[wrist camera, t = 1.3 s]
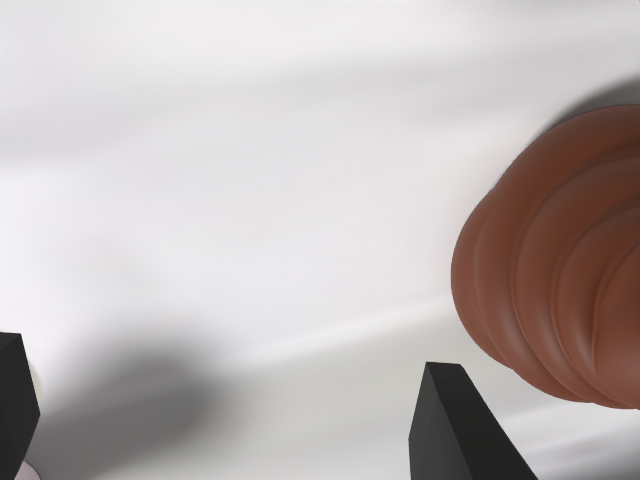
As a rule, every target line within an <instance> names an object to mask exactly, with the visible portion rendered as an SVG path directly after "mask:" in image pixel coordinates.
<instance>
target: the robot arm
mask: <svg viewBox="0 0 640 480" xmlns="http://www.w3.org/2000/svg"><path fill="white" fill-rule="evenodd" d="M39 417H40V411H39V406H38V402H37V398H36V394H35V390H34V386H33V382H32V378H31V374H30V369H29V365H28V361H27V357H26V353H25V349H24V345H23V341H22V336H21V334H20V333H5V332H0V480H14V479H15V477H16V475H17V473H18V471H19V469H20V467H21V464H22V462H23V459H24V457H25V454H26V452H27V449H28V447H29V444H30V442H31V439H32V436H33V434H34V431H35V428H36V425H37V423H38V420H39ZM408 440H409V456H410V472H411V480H538V478H537V477H536V476H535V474H534V473H533V472H532V470H531V469H530V467H529V466H528V465H527V463H526V462H525V460H524V459H523V458H522V456H521V455H520V453H519V452H518V451H517V449H516V448H515V446H514V445H513V444H512V442H511V441H510V439H509V438H508V436H507V435H506V433H505V432H504V431H503V429H502V428H501V426H500V425H499V423H498V422H497V420H496V418H495V417H494V415H493V414H492V412H491V411H490V409H489V408H488V406H487V405H486V403H485V402H484V400H483V398H482V397H481V395H480V394H479V392H478V390H477V389H476V387H475V386H474V384H473V382H472V381H471V379H470V378H469V376H468V374H467V373H466V371H465V369H464V368H463V367H462V366H461V365H460V364H453V363H438V362H426V364H425V369H424V373H423V378H422V382H421V386H420V391H419V395H418V399H417V404H416V408H415V412H414V417H413V421H412V425H411V430H410V434H409V438H408Z"/></svg>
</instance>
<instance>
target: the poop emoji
mask: <svg viewBox="0 0 640 480" xmlns="http://www.w3.org/2000/svg"><path fill="white" fill-rule="evenodd" d="M451 289H452V295H453V300H454V304H455V307H456V310H457V313H458V315H459V318H460V320H461V322H462V324H463V325H464V327H465V329H466V331H467V332H468V333H469V335H470V336H471V338H472V339H473V340H474V341H475V343H476V344H477V345H478V346H479V347H480V348H481V349H482V350H483V351H484V352H485V353H487V354H488V355H489V356H490V357H492V358H493V359H495V360H496V361H498V362H499V363H501V364H503V365H504V366H506V367H508V368H511V369H513V370H514V371H515V372H516V373H517V374H518V375H519V376H520V377H521V378H523V379H524V380H525V381H526V382H528V383H529V384H531V385H532V386H534V387H535V388H537V389H539V390H541V391H543V392H545V393H547V394H549V395H552V396H554V397H557V398H560V399H564V400H568V401H573V402H584V403H595V404H598V405H601V406H605V407H609V408H616V409H638V410H640V105H636V104H634V105H618V106H611V107H605V108H601V109H596V110H593V111H589V112H586V113H583V114H581V115H578V116H576V117H573V118H571V119H569V120H567V121H565V122H563V123H561V124H559V125H557V126H556V127H554V128H552V129H551V130H549V131H548V132H546V133H545V134H543V135H542V136H540V137H539V138H538V139H537V140H535V141H534V142H533V143H532V144H530V145H529V146H528V147H527V148H526V149H525V150H524V151H523V152H522V153H521V154H520V155H519V156H518V157H517V158H516V159H515V160H514V161H513V163H512V164H511V165H510V166H509V167H508V169H507V170H506V171H505V173H504V174H503V175H502V177H501V178H500V180H499V181H498V183H497V185H496V186H495V187H494V188H493V189H492V190H491V191H490V192H489V193H488V194H487V195H486V196H485V197H484V198H483V199H482V200H481V201H480V203H479V204H478V205H477V206H476V208H475V209H474V210H473V212H472V213H471V214H470V216H469V218H468V219H467V221H466V223H465V224H464V226H463V228H462V230H461V232H460V235H459V237H458V240H457V243H456V246H455V249H454V253H453V258H452V265H451Z"/></svg>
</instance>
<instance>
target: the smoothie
mask: <svg viewBox="0 0 640 480" xmlns="http://www.w3.org/2000/svg"><path fill="white" fill-rule="evenodd" d="M14 480H40V478H39V476H38V474H37V473H36V471H35V470H34V469H33V468H32V467H31V466H30V465H29V464H28V463H26V462H25V461H23V462H22V464H21V467H20V469H19V471H18V473H17V475H16V477H15V479H14Z"/></svg>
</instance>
